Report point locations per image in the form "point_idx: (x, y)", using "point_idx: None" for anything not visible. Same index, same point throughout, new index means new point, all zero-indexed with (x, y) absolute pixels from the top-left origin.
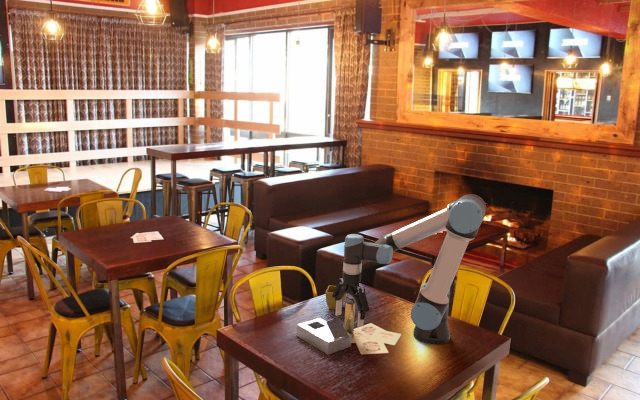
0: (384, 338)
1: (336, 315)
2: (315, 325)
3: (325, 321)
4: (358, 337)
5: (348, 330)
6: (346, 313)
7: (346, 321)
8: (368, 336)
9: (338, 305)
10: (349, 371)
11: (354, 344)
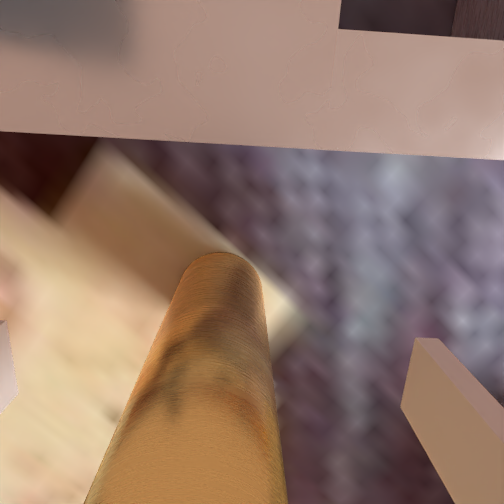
0: (3, 440)
1: (417, 338)
2: (501, 30)
3: (438, 141)
4: (122, 309)
5: (184, 281)
6: (191, 387)
7: (199, 314)
8: (93, 378)
9: (500, 480)
10: None
11: (30, 187)
